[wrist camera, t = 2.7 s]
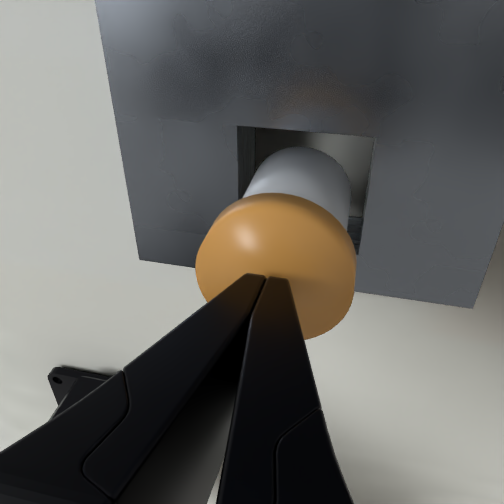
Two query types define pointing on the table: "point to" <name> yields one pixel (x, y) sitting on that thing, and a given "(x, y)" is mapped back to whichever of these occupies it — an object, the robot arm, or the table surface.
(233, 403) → the robot arm
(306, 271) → the plunger
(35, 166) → the table surface
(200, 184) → the housing
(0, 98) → the table surface
